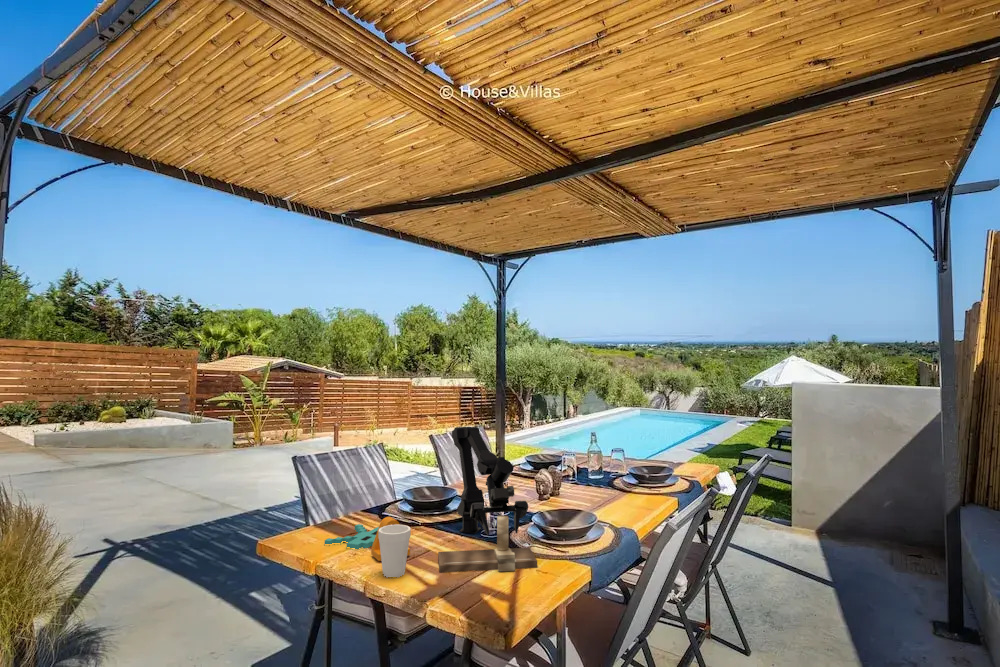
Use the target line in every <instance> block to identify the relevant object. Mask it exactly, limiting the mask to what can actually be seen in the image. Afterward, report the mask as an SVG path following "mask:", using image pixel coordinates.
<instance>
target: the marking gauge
mask: <svg viewBox="0 0 1000 667" xmlns="http://www.w3.org/2000/svg"><path fill="white" fill-rule="evenodd" d="M511 549H512V548H510V547H509V516H508V515H505V514H504V515H501V514H500V515H497V516H496V548H494V554H495V556H496V559H497V561H498V570H497V571H498V572H514V571H516V569H515V554H514V552H512V551H511Z"/></svg>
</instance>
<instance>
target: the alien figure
mask: <svg viewBox="0 0 1000 667" xmlns="http://www.w3.org/2000/svg"><path fill="white" fill-rule="evenodd" d="M378 528H379V526H377V527H375V528H373V529H371V530H369V531H367V530H368V529H366V527H365V526H364V524H359V523H358V524H356V525H354V531H355V530H356V531H355V533H356V532H358V533H356V534H355V535H354V536H351V535H350V536H349V535H347V536H344V537H340V536H337V537H336V538H327V539H325V540H324V545H325V544H332V543H341V542H342V541H346V542H348V543H346V548H347V547H350V548H355V549H359V548H361V547H363V548H361V549H365V548H368V547H369V548H371V547H370V546H372V545H373V542H374V540H375V537H376V534H377V531H378ZM369 548H368V549H369ZM359 550H360V549H359Z"/></svg>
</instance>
